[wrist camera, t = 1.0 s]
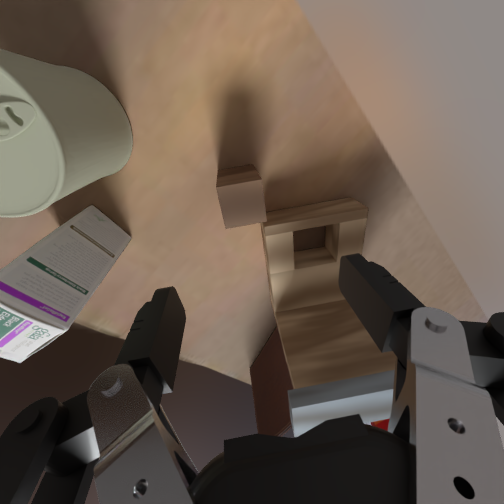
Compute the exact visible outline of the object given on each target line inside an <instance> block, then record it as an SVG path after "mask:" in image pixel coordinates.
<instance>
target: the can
mask: <svg viewBox="0 0 504 504" xmlns="http://www.w3.org/2000/svg"><path fill="white" fill-rule="evenodd" d="M132 146H133V137H132V130H131V126H130V123H129V120H128V117H127V115H126V113H125V111H124V109H123V108H122V106H121V104H120V103H119V101H118V100H117V99H116V98H115V96H114V95H113V94H112V93H111V92H110V91H109V90H108V89H107V88H106V87H105V86H104V85H103V84H102V83H100V82H99V81H98V80H96V79H95V78H93V77H92V76H90V75H88V74H86V73H84V72H82V71H80V70H77V69H74V68H71V67H67V66H57V65H53V64H49V63H46V62H43V61H39V60H36V59H33V58H29V57H26V56H23V55H19V54H16V53H13V52H10V51H7V50H3V49H0V217H23V216H28V215H32V214H35V213H38V212H40V211H42V210H44V209H46V208H47V207H48V206H50V205H51V204H52V203H54V202H56V201H58V200H60V199H61V198H63V197H65V196H67V195H69V194H71V193H73V192H74V191H76V190H78V189H80V188H82V187H84V186H86V185H88V184H90V183H92V182H94V181H96V180H98V179H100V178H102V177H105V176H109V175H112V174H114V173H116V172H118V171H119V170H121V169H122V168H123V167H124V166H125V164H126V163H127V162H128V160H129V158H130V155H131V152H132Z"/></svg>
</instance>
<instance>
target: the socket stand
mask: <svg viewBox="0 0 504 504" xmlns="http://www.w3.org/2000/svg"><path fill="white" fill-rule="evenodd" d="M368 209H369V208H367V207H366V206H364V205H363V204H361V203H360V202H358V201H356V200H355V199H353V198H352V197H349V198H344V199H338V200H333V201H327V202H321V203H316V204H310V205H305V206H299V207H293V208H288V209H282V210H277V211H271V212H266V218H267V222H262V223H261V230H262V237H263V245H264V252H265V260H266V267H267V275H268V282H269V290H270V297H271V304H272V308H273V311H274V315H275V319H276V323H277V327H278V331H279V335H280V339H281V343H282V346H283V350H284V354H285V358H286V362H287V366H288V370H289V374H290V378H291V381H292V385H293V390H288V400H289V409H290V418H291V423H292V428H293V432H294V437H298V436H300V435H302V434H303V433H305V432H307V431H309V430H310V429H312V428H314V427H315V426H317V425H319V424H321V423H322V422H324V421H326V420H330V419H335V418H340V417H345V416H350V415H355V414H360V416H361V418H362V421H363V423H369V422H374V421H379V420H384V419H389V418H390V415H391V410H392V401H393V387H394V372H395V360H396V357H397V356H396V355H395V354H394V352H393V351H389V352H384V353H382V352H381V351H380V349H379V348H378V346H377V345H376V344H375V342H374V341H373V339H372V338H371V336H370V335H369V333H368V332H367V330H366V329H365V327H364V326H363V324H362V323H361V321H360V320H359V318H358V317H357V315H356V314H355V312H354V311H353V309H352V308H351V306H350V305H349V303H348V302H347V300H346V299H345V298H344V296H343V295H342V293H341V291H340V288H339V283H338V280H339V268H340V259H341V257H342V256H345V255H350V254H356V253H359V254H361V255H362V249H363V242H364V235H365V229H366V222H367V216H368ZM325 225H326V233H325V247H319V248H314V249H308V250H303V251H297V252H294V247H293V231H298V230H303V229H309V228H314V227H320V226H325Z"/></svg>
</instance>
